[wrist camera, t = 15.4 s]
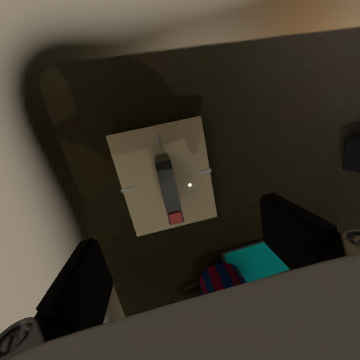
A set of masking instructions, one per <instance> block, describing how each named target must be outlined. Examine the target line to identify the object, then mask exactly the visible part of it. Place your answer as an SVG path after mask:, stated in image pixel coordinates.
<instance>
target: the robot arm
mask: <svg viewBox="0 0 360 360" xmlns="http://www.w3.org/2000/svg"><path fill="white" fill-rule="evenodd" d="M260 210H261V220H262V231H263V240H264V242H265V244H266V245H267V246H268V247H269V248H270V249H271V250H272V251H273V252H274V253H275V254H276V255H277V257H278V258H279V259H280V260H281V261H282V262H283V263H284V264H285V265H286V266H287V267H288V268H289V269H290V270H291V271H287V272H283V273H280V274H276V275H273V276H269V277H265V278H262V279H258V280H255V281H251V282H248V283H244V284H241V285H237V286H234V287H230V288H226V289H223V290H219V291H216V292H212V293H209V294H205V295H202V296H198V297H195V298H191V299H188V300H184V301H181V302H177V303H174V304H170V305H167V306H163V307H160V308H156V309H153V310H149V311H146V312H143V313H139V314H136V315H132V316H129V317H125V318H122V319H119V320H115V321H112V322H108V323H105V324H103V321H104V318H105V314H106V310H107V306H108V303H109V299H110V295H111V291H112V287H113V279H112V277H111V274H110V271H109V269H108V266H107V264H106V261H105V258H104V256H103V253H102V251H101V248H100V245H99V243H98V241H97V240H94V239H93V238H91V239H87V240H83V241H80V243H79V244H78V246H77V247H76V249H75V250H74V252H73V253H72V255H71V256H70V258H69V259H68V261H67V262H66V264H65V265H64V267H63V268H62V270H61V271H60V273H59V274H58V276H57V277H56V279H55V280H54V282H53V283H52V285H51V286H50V288H49V289H48V291H47V292H46V294H45V296H44V297H43V299H42V300H41V302H40V303H39V305H38V306H37V308H36V309H37V311H38V312H37V314H36V316H35V317H34V318H33V317H29V318H24V319H23V320H20V321H18V322H16V323H14V324H13V325H11V326H10V327H8V328H7V329H6V330H4V331H3V332H2V333H1V334H0V360H360V229H348V230H345V231H343V232H342V233H339V232H337V226H335V225H333V224H331V223H329V222H328V221H326V220H324V219H322V218H320V217H318V216H316V215H315V214H313V213H311V212H309V211H307V210H305V209H303V208H301V207H300V206H298V205H296V204H294V203H292V202H290V201H288V200H286V199H285V198H283V197H281V196H279V195H277V194H275V193H269V194H265V195H263V196H262V198H260Z"/></svg>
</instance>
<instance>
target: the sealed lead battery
mask: <svg viewBox="0 0 360 360" xmlns="http://www.w3.org/2000/svg"><path fill="white" fill-rule="evenodd" d="M155 168H156V172H157V176H158V180H159V184H160V188H161V192H162V196H163V200H164V204H165V208H166V212H167V216H168V220H169V224H170V225H173V224H177V223H181V222H184V218H183V213H182V209H181V204H180V200H179V195H178V191H177V186H176V182H175V177H174V173H173V168H172V164H171V160H170V158H169V156H168V154H167V153H165V154H160V155H156V156H155Z"/></svg>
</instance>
